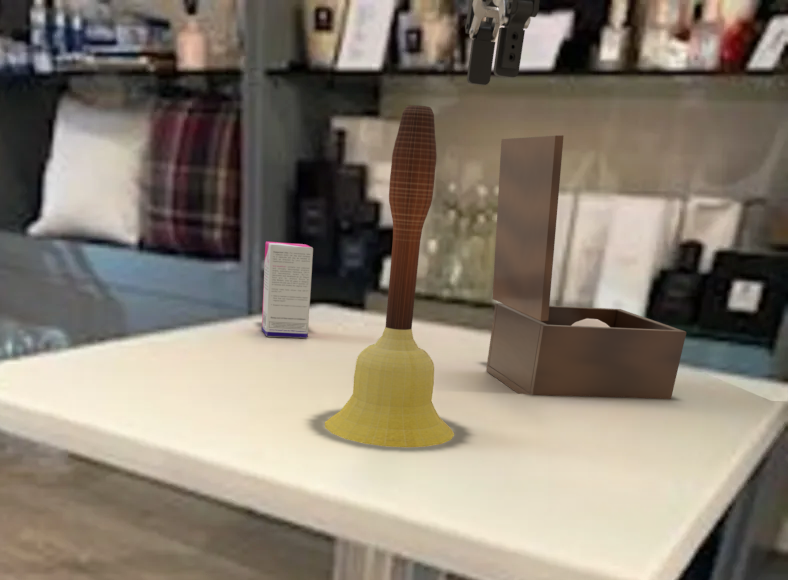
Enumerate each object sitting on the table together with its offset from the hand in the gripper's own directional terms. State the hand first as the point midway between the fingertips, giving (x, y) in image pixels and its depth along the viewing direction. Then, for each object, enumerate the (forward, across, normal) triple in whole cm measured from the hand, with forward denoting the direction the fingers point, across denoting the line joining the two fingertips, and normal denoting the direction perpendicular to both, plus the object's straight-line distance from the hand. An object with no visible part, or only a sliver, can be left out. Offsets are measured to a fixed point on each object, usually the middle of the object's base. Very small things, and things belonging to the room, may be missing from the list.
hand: (490, 80), depth 84 cm
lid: (+12, 0, -6) cm, 14 cm away
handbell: (+30, -22, +11) cm, 38 cm away
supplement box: (+30, +28, +15) cm, 44 cm away
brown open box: (+29, 0, -15) cm, 32 cm away
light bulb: (+28, 0, -16) cm, 32 cm away
